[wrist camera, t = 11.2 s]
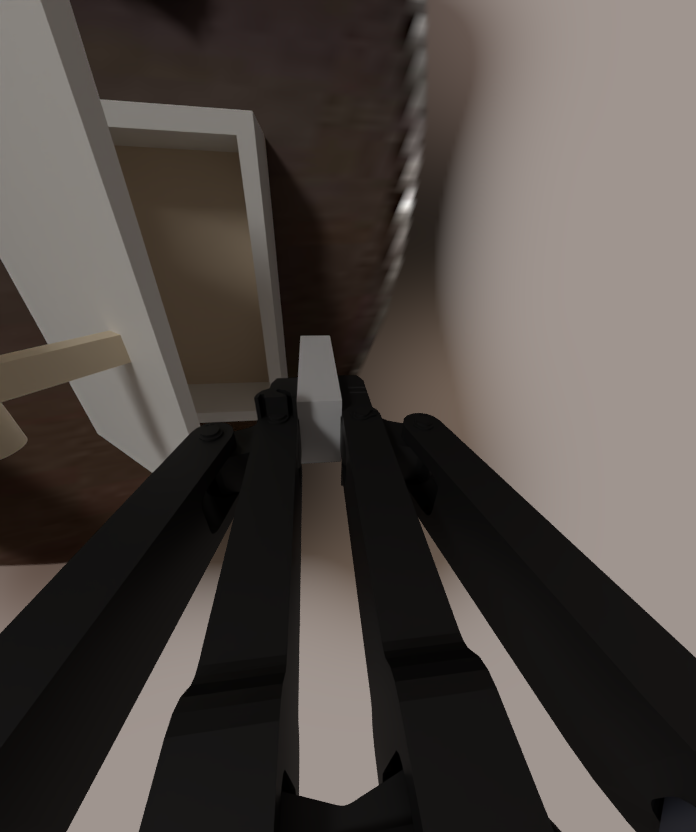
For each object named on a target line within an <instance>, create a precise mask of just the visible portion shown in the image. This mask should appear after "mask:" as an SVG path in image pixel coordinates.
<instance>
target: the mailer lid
mask: <svg viewBox="0 0 696 832" xmlns="http://www.w3.org/2000/svg"><path fill="white" fill-rule="evenodd" d="M0 259H1V260H2V262H3V264H4V266H5V268H6V269H7V271H8V273H9V275H10V277H11V278H12V280H13V282H14V284H15V286H16V287H17V289H18V291H19V293H20V295H21V296H22V298H23V300H24V302H25V304H26V305H27V307H28V309H29V311H30V313H31V314H32V316H33V318H34V320H35V322H36V323H37V325H38V327H39V329H40V331H41V332H42V334H43V336H44V338H45V340H46V341H47V343H48V344H47V345H43V346H38V347H34V348H30V349H25V350H21V351H16V352H12V353H7V354H3V355H0V460H1V459H3V458H6V457H8V456H10V455H12V454H13V453H15V452H17V451H18V450H20V449H21V448H22V447H23V446H24V445H25V444H26V443H27V437H26V436H25V434H24V433H23V431H22V430H21V429H20V427H19V426H18V425H17V423H16V422H15V420H14V419H13V418H12V416H11V415H10V414H9V412H8V411H7V410H6V408H5V407H4V405H3V404H2V403H1V402H4V401H7V400H11V399H14V398H17V397H20V396H24V395H27V394H30V393H33V392H37V391H40V390H43V389H46V388H49V387H53V386H56V385H59V384H62V383H66V382H69V383H70V385H71V386H72V388H73V390H74V392H75V394H76V395H77V397H78V399H79V401H80V403H81V404H82V406H83V408H84V410H85V412H86V413H87V415H88V417H89V419H90V421H91V422H92V424H93V426H94V428H95V430H96V431H97V433H98V434H99V435H100V436H102V437H103V438H105V439H106V440H107V441H109V442H110V443H112V444H113V445H114V446H116V447H117V448H119V449H120V450H121V451H123V452H124V453H125V454H127V455H128V456H130V457H131V458H132V459H134V460H135V461H137V462H138V463H139V464H141V465H142V466H144V467H145V468H146V469H148V470H149V471H151V472H152V473H153V472H154V471H155V470H156V469H157V468H158V467H159V466H160V465H161V464H162V462H163V461H164V460H165V459H166V458H167V457H168V456H169V455H170V454H171V453H172V452H173V451H174V450H175V449H176V448H177V447H178V446H179V445H180V443H181V442H182V441H183V440H184V439H185V438H186V437H187V436H188V435H189V434H190V433H191V432H192V431H193V430H195V429H196V428H198V427H200V423H199V420H198V417H197V413H196V410H195V407H194V404H193V400H192V397H191V394H190V391H189V387H188V384H187V381H186V378H185V374H184V371H183V368H182V365H181V361H180V358H179V355H178V352H177V348H176V345H175V342H174V339H173V335H172V332H171V329H170V326H169V322H168V319H167V316H166V313H165V309H164V306H163V303H162V300H161V296H160V293H159V290H158V287H157V283H156V280H155V277H154V274H153V270H152V267H151V264H150V261H149V257H148V254H147V251H146V248H145V244H144V241H143V238H142V235H141V231H140V228H139V225H138V222H137V218H136V215H135V212H134V209H133V205H132V202H131V199H130V196H129V192H128V189H127V186H126V183H125V179H124V176H123V173H122V170H121V166H120V163H119V160H118V157H117V153H116V150H115V147H114V144H113V140H112V137H111V134H110V131H109V127H108V124H107V121H106V118H105V114H104V111H103V108H102V105H101V101H100V98H99V95H98V92H97V88H96V85H95V82H94V79H93V75H92V72H91V69H90V66H89V62H88V59H87V56H86V53H85V50H84V46H83V43H82V40H81V37H80V33H79V30H78V27H77V24H76V20H75V17H74V14H73V11H72V7H71V4H70V1H69V0H0Z"/></svg>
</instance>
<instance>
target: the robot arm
mask: <svg viewBox="0 0 696 832" xmlns="http://www.w3.org/2000/svg"><path fill="white" fill-rule="evenodd" d="M254 401H255V406H256V412H257V418H258V420H257V424H256V425H254V426H252V427H249V428H246V429H243V430H238V431H233V428H232V426H230V425H229V424H226V423H222V422H213V423H208V424H204V425H202V426H200V427H198V428H196V429H195V430H193V431H192V432H191V433H190V434H189V435H188V436H187V437H186V438H185V439H184V440H183V441H182V442H181V443H180V445H179V446H178V447H177V448H176V449H175V450H174V451H173V452H172V453H171V454H170V455H169V456H168V457H167V458H166V459H165V460H164V461H163V462H162V464H161V465H160V466H159V467H158V468H157V469H156V470H155V471H154V472H153V473H152V474H151V475H150V476H149V477H148V478H147V479H146V480H145V481H144V483H143V484H142V485H141V486H140V487H139V488H138V489H137V490H136V491H135V492H134V493H133V494H132V495H131V496H130V497H129V498H128V499H127V500H126V501H125V503H124V504H123V505H122V506H121V507H120V508H119V509H118V510H117V511H116V512H115V513H114V514H113V515H112V516H111V517H110V518H109V519H108V520H107V522H106V523H105V524H104V525H103V526H102V527H101V528H100V529H99V530H98V531H97V532H96V533H95V534H94V535H93V536H92V537H91V538H90V539H89V541H88V542H87V543H86V544H85V545H84V546H83V547H82V548H81V549H80V550H79V551H78V552H77V553H76V554H75V555H74V556H73V557H72V558H71V560H70V561H69V562H68V563H67V564H66V565H65V566H64V567H63V568H62V569H61V570H60V571H59V572H58V573H57V574H56V575H55V576H54V577H53V579H52V580H51V581H50V582H49V583H48V584H47V585H46V586H45V587H44V588H43V589H42V590H41V591H40V592H39V593H38V594H37V595H36V597H35V598H34V599H33V600H32V601H31V602H30V603H29V604H28V605H27V606H26V607H25V608H24V609H23V610H22V611H21V612H20V613H19V614H18V615H17V617H16V618H15V619H14V620H13V621H12V622H11V623H10V624H9V625H8V626H7V627H6V628H5V629H4V630H3V631H2V632H1V633H0V832H66V831H67V830H68V828H69V826H70V824H71V822H72V820H73V818H74V816H75V814H76V813H77V811H78V809H79V807H80V805H81V803H82V801H83V800H84V798H85V796H86V794H87V792H88V790H89V788H90V786H91V784H92V782H93V781H94V779H95V777H96V775H97V773H98V771H99V769H100V768H101V766H102V764H103V762H104V760H105V758H106V756H107V754H108V752H109V751H110V749H111V747H112V745H113V743H114V741H115V739H116V738H117V736H118V734H119V732H120V730H121V728H122V726H123V724H124V722H125V720H126V719H127V717H128V715H129V713H130V711H131V709H132V707H133V706H134V704H135V702H136V700H137V698H138V696H139V694H140V692H141V691H142V689H143V687H144V685H145V683H146V681H147V679H148V677H149V676H150V674H151V672H152V670H153V668H154V666H155V664H156V662H157V661H158V659H159V657H160V655H161V653H162V651H163V649H164V647H165V646H166V644H167V642H168V640H169V638H170V636H171V634H172V632H173V631H174V629H175V626H176V625H177V623H178V621H179V619H180V617H181V616H182V614H183V612H184V610H185V608H186V606H187V604H188V602H189V600H190V598H191V597H192V594H193V593H194V591H195V589H196V587H197V585H198V584H199V582H200V580H201V578H202V576H203V574H204V572H205V570H206V568H207V567H208V565H209V563H210V561H211V559H212V557H213V555H214V554H215V552H216V550H217V548H218V546H219V544H220V542H221V540H222V539H223V537H224V534H225V533H226V531H227V529H228V527H229V525H230V523H231V522H232V520H233V518H234V520H233V523H232V527H231V532H230V536H229V540H228V544H227V548H226V552H225V556H224V561H223V565H222V569H221V574H220V577H219V581H218V585H217V590H216V594H215V598H214V602H213V606H212V610H211V614H210V618H209V623H208V627H207V631H206V635H205V639H204V643H203V647H202V652H201V656H200V660H199V664H198V668H197V671H196V675H195V677H194V680H193V682H192V684H191V686H190V687H189V688H188V689H187V690H186V692H185V693H184V694H183V695H182V696H181V697H180V699H179V701H178V703H177V705H176V707H175V709H174V712H173V714H172V717H171V720H170V723H169V726H168V729H167V732H166V735H165V738H164V741H163V745H162V749H161V753H160V756H159V760H158V763H157V767H156V771H155V774H154V779H153V782H152V786H151V789H150V793H149V796H148V801H147V804H146V807H145V811H144V815H143V819H142V822H141V826H140V830H139V832H561V831H560V830H559V829H558V827H557V826H556V825H555V824H554V823H553V822H552V821H551V820H550V819H549V818H548V815H547V813H546V811H545V808H544V805H543V803H542V801H541V798H540V795H539V793H538V790H537V788H536V785H535V783H534V781H533V778H532V775H531V773H530V771H529V768H528V765H527V763H526V760H525V758H524V755H523V753H522V751H521V748H520V745H519V743H518V740H517V738H516V736H515V733H514V730H513V728H512V725H511V723H510V720H509V718H508V716H507V713H506V710H505V708H504V705H503V703H502V701H501V698H500V695H499V693H498V691H497V688H496V686H495V684H494V681H493V679H492V677H491V675H490V673H489V671H488V669H487V667H486V666H485V664H484V663H483V661H482V660H481V658H480V657H479V656H478V655H477V654H475V653H474V652H473V651H471V650H470V649H469V648H468V647H467V646H466V644H465V642H464V641H463V638H462V636H461V634H460V631H459V629H458V626H457V623H456V620H455V618H454V615H453V612H452V610H451V607H450V604H449V601H448V598H447V596H446V593H445V590H444V587H443V585H442V582H441V579H440V577H439V574H438V571H437V568H436V566H435V563H434V560H433V557H432V555H431V552H430V549H429V547H428V544H427V541H426V538H425V536H424V533H423V530H422V527H421V524H420V522H419V519H420V521H421V522H422V524H423V525H424V527H425V528H426V530H427V531H428V533H429V535H430V536H431V538H432V539H433V541H434V542H435V543H436V545H437V547H438V548H439V550H440V551H441V553H442V554H443V556H444V557H445V558H446V560H447V561H448V563H449V564H450V566H451V568H452V569H453V571H454V572H455V574H456V575H457V577H458V578H459V580H460V581H461V583H462V584H463V586H464V587H465V589H466V590H467V592H468V593H469V595H470V596H471V598H472V599H473V601H474V602H475V604H476V605H477V607H478V608H479V610H480V611H481V613H482V614H483V616H484V617H485V619H486V621H487V622H488V624H489V625H490V627H491V628H492V629H493V631H494V633H495V634H496V636H497V637H498V639H499V640H500V642H501V643H502V645H503V646H504V648H505V649H506V651H507V652H508V654H509V655H510V657H511V658H512V660H513V661H514V663H515V664H516V666H517V667H518V669H519V670H520V672H521V673H522V675H523V676H524V678H525V679H526V681H527V682H528V684H529V685H530V687H531V688H532V690H533V691H534V693H535V694H536V696H537V698H538V699H539V701H540V702H541V704H542V705H543V706H544V708H545V710H546V711H547V713H548V714H549V715H550V717H551V719H552V720H553V722H554V723H555V725H556V726H557V728H558V729H559V731H560V732H561V734H562V735H563V737H564V738H565V740H566V741H567V743H568V744H569V746H570V747H571V748H572V750H573V751H574V753H575V754H576V755H577V757H578V758H579V760H580V761H581V762H582V764H583V765H584V767H585V768H586V769H587V771H588V772H589V774H590V775H591V777H592V778H593V779H594V781H595V782H596V783H597V784H598V786H599V787H600V788H601V790H602V791H603V792H604V793H605V794H606V796H607V797H608V798H609V799H610V801H611V802H612V803H613V805H614V806H615V807H616V808H617V809H618V811H619V812H620V813H621V815H622V816H623V817H624V818H625V819H626V821H627V822H628V823H629V824H630V825H631V826H632V828H633V829H634V830H635V831H636V832H696V658H695V657H694V656H693V655H692V654H691V653H690V652H689V651H688V650H687V649H686V648H685V647H684V646H682V645H681V644H680V643H679V642H678V641H677V640H676V639H675V638H674V637H673V636H672V635H671V634H669V633H668V632H667V631H666V630H665V629H664V628H663V627H662V626H661V625H660V624H659V623H658V622H657V621H655V620H654V619H653V618H652V617H651V616H650V615H649V614H648V613H647V612H645V610H643V609H642V608H641V607H640V606H639V605H638V604H637V603H636V602H635V601H634V600H633V599H631V597H630V596H629V595H627V594H626V593H625V592H624V591H623V590H622V589H621V588H620V587H619V586H618V585H617V584H615V583H614V582H613V581H612V580H611V579H610V578H609V577H608V576H607V575H606V574H605V573H604V572H603V571H601V570H600V569H599V568H598V567H597V566H596V565H595V564H594V563H593V562H591V560H590V559H589V558H588V557H586V556H585V555H584V554H583V553H582V552H581V551H580V550H579V549H578V548H577V547H576V546H575V545H573V544H572V543H571V542H570V541H569V540H568V539H567V538H566V537H565V536H564V535H562V534H561V532H559V531H558V530H557V529H556V528H555V527H554V526H553V525H552V524H551V523H550V522H549V521H548V520H546V519H545V518H544V517H543V516H542V515H541V514H540V513H539V512H538V511H537V510H536V509H535V508H533V507H532V506H531V505H530V504H529V503H528V502H527V501H526V500H525V499H524V498H523V497H522V496H521V495H519V494H518V493H517V492H516V491H515V490H514V489H513V488H512V487H511V486H510V485H509V484H508V483H506V482H505V481H504V480H503V479H502V478H501V477H500V476H499V475H498V474H497V473H496V472H495V471H494V470H493V469H491V468H490V467H489V466H488V465H487V464H486V463H485V462H484V461H483V460H482V459H481V458H480V457H479V456H477V455H476V454H475V453H474V452H473V451H472V450H471V449H470V448H469V447H468V446H467V445H466V444H465V443H463V442H462V441H461V440H460V439H459V438H458V437H457V436H456V435H455V434H454V433H453V432H452V431H451V430H449V429H448V428H447V427H446V426H445V425H444V424H443V423H442V422H441V421H440V420H438V419H437V418H435V417H433V416H431V415H428V414H423V413H415V414H410V415H407V416H406V417H405V418H404V422H403V423H397V422H392V421H387V420H384V419H382V418H381V415H380V413H379V412H378V410H376V409H375V408H373V407H372V405H371V402H370V399H369V396H368V393H367V390H366V388H365V384H364V381H363V380H362V379H361V378H360V377H358V376H357V375H349V376H337V371H336V366H335V361H334V355H333V350H332V345H331V339H330V336H300V353H299V369H298V378H277V379H275V380H274V381H273V382H272V383H271V385H270V388H269V389H266V390H262V391H261V392H259V393H257V394H256V396H255V397H254ZM341 459H342V470H341V485H342V486H343V487H344V494H345V502H346V510H347V517H348V525H349V533H350V541H351V549H352V556H353V564H354V571H355V579H356V587H357V595H358V602H359V610H360V618H361V625H362V633H363V641H364V648H365V656H366V664H367V672H368V679H369V687H370V695H371V704H372V725H373V738H374V748H375V757H376V764H377V773H378V781H379V785H378V786H377V787H376V788H374V789H372V790H371V791H369V792H368V793H366V794H365V795H363V796H361V797H360V798H358V799H357V800H355V801H354V802H352V803H350V804H348V805H345V806H339V805H334V804H330V803H326V802H322V801H318V800H314V799H310V798H306V797H302V796H299V727H298V690H299V632H300V631H299V630H300V629H299V628H300V572H301V568H300V567H301V513H302V466H301V464H305V463H322V462H339V461H341ZM418 518H419V519H418Z"/></svg>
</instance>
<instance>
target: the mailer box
mask: <svg viewBox="0 0 696 832" xmlns="http://www.w3.org/2000/svg"><path fill="white" fill-rule="evenodd" d="M100 101H101V105H102V108H103V111H104V114H105V118H106V121H107V124H108V127H109V131H110V134H111V137H112V140H113V144H114V147H115V150H116V153H117V157H118V160H119V163H120V166H121V170H122V173H123V176H124V179H125V183H126V186H127V189H128V192H129V196H130V199H131V202H132V205H133V209H134V212H135V215H136V218H137V222H138V225H139V228H140V231H141V235H142V238H143V241H144V244H145V248H146V251H147V254H148V257H149V261H150V264H151V267H152V270H153V274H154V277H155V280H156V283H157V287H158V290H159V293H160V296H161V300H162V303H163V306H164V309H165V313H166V316H167V319H168V322H169V326H170V329H171V332H172V335H173V339H174V342H175V345H176V348H177V352H178V355H179V358H180V361H181V365H182V368H183V371H184V374H185V378H186V381H187V384H188V387H189V391H190V394H191V397H192V400H193V404H194V407H195V410H196V413H197V417H198V420H199V423H207V422H230V421H252V420H258V418H257V412H256V406H255V401H254V397H255V396H256V394H257V393H259V392H261V391H262V390H266V389H269V388H270V385H271V383H272V382H273V381H274V380H275V379H277V378H288V374H287V364H286V353H285V342H284V332H283V321H282V311H281V300H280V289H279V279H278V268H277V258H276V247H275V236H274V226H273V215H272V205H271V194H270V184H269V173H268V162H267V152H266V141H265V136H264V134H263V132H262V130H261V128H260V126H259V124H258V121H257V119H256V117H255V115H254V113H253V111H247V110H234V109H220V108H207V107H194V106H180V105H167V104H154V103H140V102H127V101H113V100H100Z"/></svg>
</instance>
